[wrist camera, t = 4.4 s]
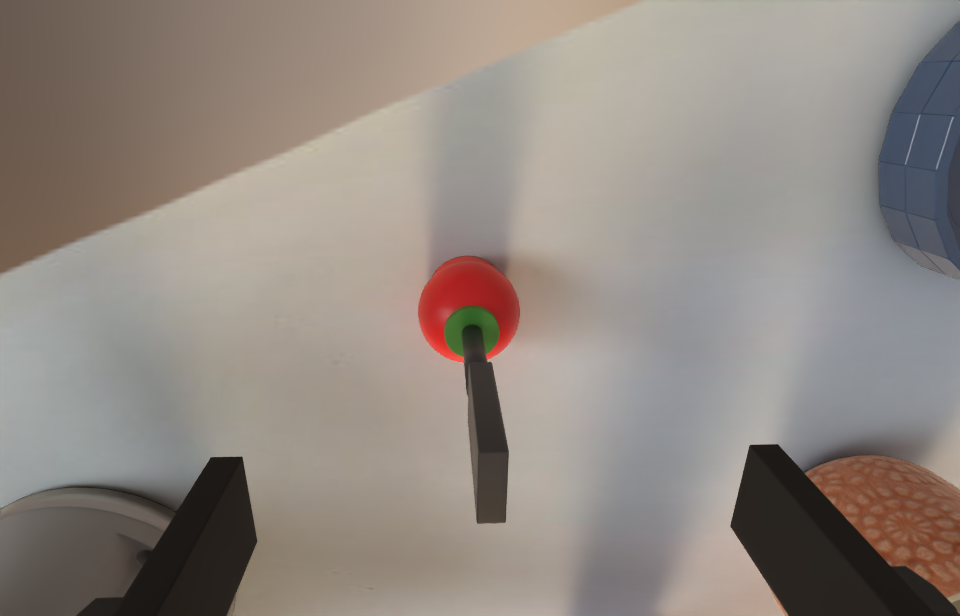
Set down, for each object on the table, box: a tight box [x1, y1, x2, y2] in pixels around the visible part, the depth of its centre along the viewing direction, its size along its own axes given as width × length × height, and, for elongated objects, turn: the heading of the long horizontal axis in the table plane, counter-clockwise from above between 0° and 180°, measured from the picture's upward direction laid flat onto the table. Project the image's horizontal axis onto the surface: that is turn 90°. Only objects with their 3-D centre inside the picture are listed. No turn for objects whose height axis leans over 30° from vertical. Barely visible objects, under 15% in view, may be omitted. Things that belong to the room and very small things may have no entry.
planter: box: [769, 455, 960, 616], centre depth 31 cm, size 12×12×11 cm
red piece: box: [418, 256, 520, 524], centre depth 22 cm, size 5×5×15 cm
